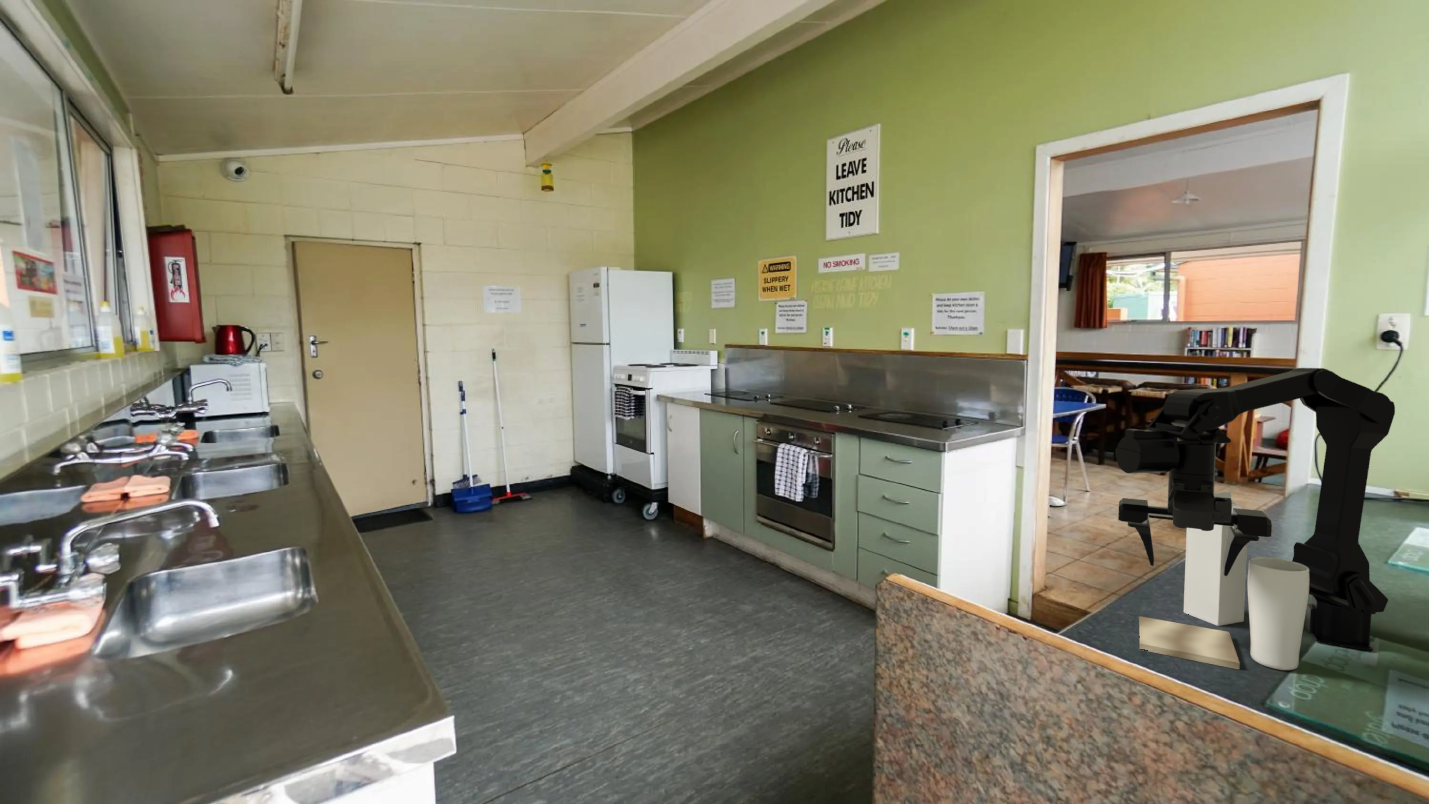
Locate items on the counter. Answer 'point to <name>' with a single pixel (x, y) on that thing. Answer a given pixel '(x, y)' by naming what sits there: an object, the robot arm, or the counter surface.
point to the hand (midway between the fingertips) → (1187, 570)
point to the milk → (1213, 576)
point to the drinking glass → (1277, 610)
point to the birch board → (1187, 642)
